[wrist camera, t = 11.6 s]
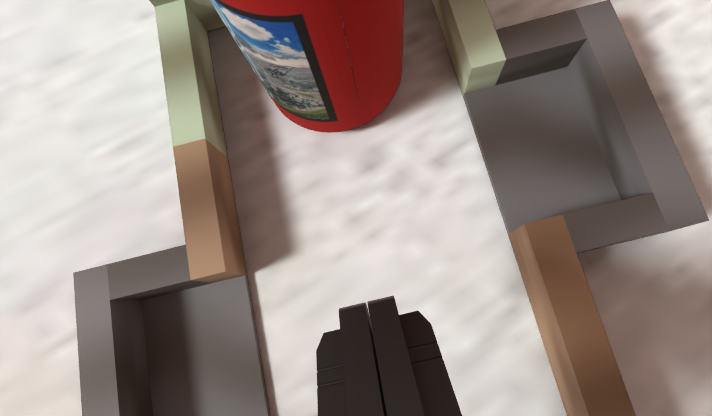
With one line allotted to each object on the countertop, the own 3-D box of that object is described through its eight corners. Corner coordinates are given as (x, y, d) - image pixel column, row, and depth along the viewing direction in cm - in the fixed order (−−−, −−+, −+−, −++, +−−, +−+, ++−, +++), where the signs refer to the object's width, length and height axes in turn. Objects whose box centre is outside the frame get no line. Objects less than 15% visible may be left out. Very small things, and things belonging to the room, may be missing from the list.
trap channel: (822, 597, 15) (972, 701, 11) (151, 730, 16) (71, 867, 12) (534, -84, 22) (562, -165, 18) (92, 38, 23) (31, -14, 20)
